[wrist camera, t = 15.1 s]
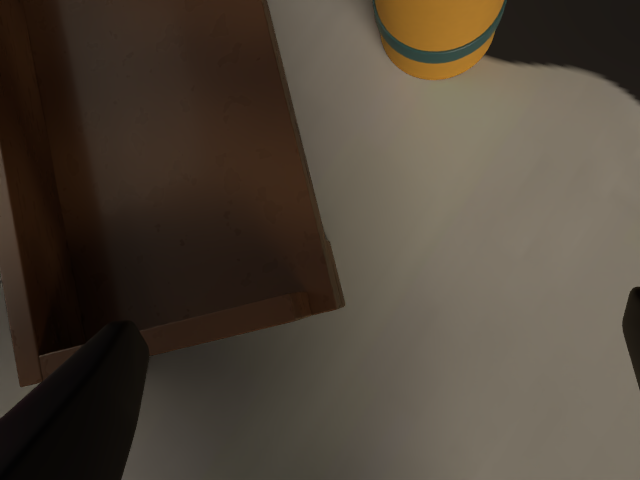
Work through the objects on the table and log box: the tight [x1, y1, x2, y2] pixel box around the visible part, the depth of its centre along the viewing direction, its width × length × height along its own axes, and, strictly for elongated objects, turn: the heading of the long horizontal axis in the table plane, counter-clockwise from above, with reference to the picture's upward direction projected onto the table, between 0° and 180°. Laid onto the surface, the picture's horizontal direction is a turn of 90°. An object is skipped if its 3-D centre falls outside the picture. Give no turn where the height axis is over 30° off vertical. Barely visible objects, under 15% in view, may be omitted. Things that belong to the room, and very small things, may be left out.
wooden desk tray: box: [0, 0, 345, 387], centre depth 23 cm, size 22×12×6 cm, turn 14°
